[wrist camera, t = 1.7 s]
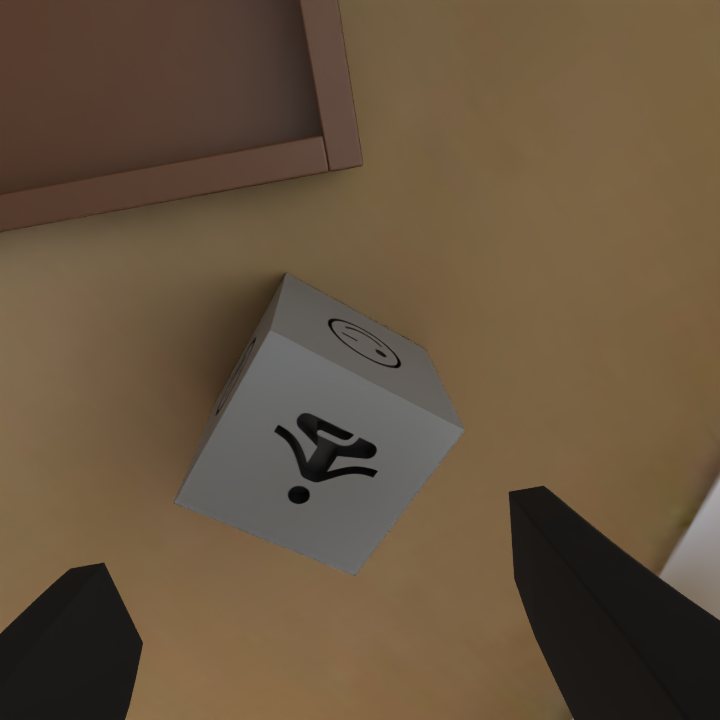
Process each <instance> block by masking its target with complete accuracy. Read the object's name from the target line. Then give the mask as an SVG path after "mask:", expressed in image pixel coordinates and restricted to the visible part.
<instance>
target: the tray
mask: <svg viewBox="0 0 720 720" xmlns="http://www.w3.org/2000/svg"><path fill="white" fill-rule="evenodd" d="M362 165H363V159H362V153H361V146H360V140H359V133H358V127H357V120H356V114H355V107H354V101H353V94H352V88H351V81H350V75H349V68H348V62H347V55H346V49H345V42H344V36H343V30H342V23H341V17H340V10H339V4H338V0H0V232H3V231H9V230H14V229H20V228H25V227H31V226H36V225H42V224H47V223H53V222H58V221H64V220H69V219H75V218H80V217H86V216H91V215H96V214H102V213H107V212H113V211H118V210H124V209H129V208H135V207H140V206H146V205H151V204H157V203H162V202H168V201H173V200H179V199H184V198H190V197H195V196H201V195H206V194H212V193H217V192H223V191H228V190H234V189H239V188H245V187H250V186H256V185H261V184H267V183H272V182H278V181H283V180H289V179H294V178H299V177H305V176H310V175H316V174H321V173H327V172H329V170H330V171H331V172H333V171H338V170H343V169H349V168H354V167H360V166H362Z"/></svg>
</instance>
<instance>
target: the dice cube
mask: <svg viewBox="0 0 720 720" xmlns="http://www.w3.org/2000/svg"><path fill="white" fill-rule="evenodd" d="M464 431H465V430H464V427H463V425H462V423H461V421H460V419H459V417H458V415H457V413H456V411H455V409H454V407H453V405H452V403H451V401H450V398H449V396H448V394H447V392H446V390H445V388H444V386H443V384H442V382H441V380H440V378H439V376H438V374H437V372H436V369H435V367H434V365H433V363H432V361H431V359H430V357H429V355H428V353H427V351H426V349H424V348H422V347H420V346H418V345H417V344H415V343H413V342H411V341H409V340H408V339H406V338H404V337H402V336H400V335H399V334H397V333H395V332H393V331H391V330H389V329H388V328H386V327H384V326H382V325H380V324H379V323H377V322H375V321H373V320H371V319H369V318H368V317H366V316H364V315H362V314H360V313H359V312H357V311H355V310H353V309H351V308H350V307H348V306H346V305H344V304H342V303H340V302H339V301H337V300H335V299H333V298H331V297H330V296H328V295H326V294H324V293H322V292H320V291H319V290H317V289H315V288H313V287H311V286H310V285H308V284H306V283H304V282H302V281H301V280H299V279H297V278H295V277H293V276H291V275H290V274H288V273H286V274H285V276H284V278H283V280H282V282H281V283H280V285H279V287H278V289H277V291H276V293H275V294H274V296H273V298H272V300H271V302H270V304H269V305H268V307H267V309H266V311H265V313H264V315H263V316H262V318H261V320H260V322H259V324H258V326H257V327H256V329H255V331H254V333H253V335H252V336H251V338H250V340H249V342H248V344H247V346H246V347H245V349H244V351H243V353H242V355H241V357H240V358H239V360H238V362H237V364H236V366H235V368H234V369H233V371H232V373H231V375H230V377H229V379H228V380H227V382H226V384H225V386H224V388H223V389H222V391H221V393H220V395H219V397H218V399H217V400H216V402H215V404H214V407H213V409H212V411H211V414H210V416H209V419H208V421H207V423H206V426H205V428H204V431H203V433H202V436H201V438H200V440H199V443H198V445H197V448H196V450H195V452H194V455H193V457H192V460H191V462H190V465H189V467H188V469H187V472H186V474H185V477H184V479H183V482H182V484H181V486H180V489H179V491H178V494H177V496H176V498H175V501H174V504H177V505H179V506H182V507H184V508H187V509H189V510H192V511H194V512H197V513H199V514H202V515H204V516H207V517H209V518H212V519H214V520H217V521H219V522H222V523H224V524H227V525H229V526H232V527H234V528H237V529H239V530H242V531H244V532H247V533H249V534H252V535H254V536H257V537H259V538H262V539H264V540H267V541H269V542H272V543H274V544H277V545H279V546H281V547H284V548H286V549H289V550H291V551H294V552H296V553H299V554H301V555H304V556H306V557H309V558H311V559H314V560H316V561H319V562H321V563H324V564H326V565H329V566H331V567H334V568H336V569H339V570H341V571H344V572H346V573H349V574H351V575H354V576H355V575H356V574H357V573H358V571H359V570H360V569H361V567H362V566H363V565H364V563H365V562H366V561H367V559H368V558H369V557H370V555H371V554H372V553H373V552H374V550H375V549H376V548H377V546H378V545H379V544H380V542H381V541H382V540H383V538H384V537H385V536H386V534H387V533H388V532H389V530H390V529H391V528H392V526H393V525H394V524H395V522H396V521H397V520H398V518H399V517H400V516H401V514H402V513H403V512H404V510H405V509H406V508H407V506H408V505H409V504H410V502H411V501H412V500H413V498H414V497H415V496H416V494H417V493H418V492H419V490H420V489H421V488H422V486H423V485H424V484H425V482H426V481H427V480H428V478H429V477H430V476H431V475H432V473H433V472H434V471H435V469H436V468H437V467H438V465H439V464H440V463H441V461H442V460H443V459H444V457H445V456H446V455H447V453H448V452H449V451H450V449H451V448H452V447H453V445H454V444H455V443H456V441H457V440H458V439H459V437H460V436H461V435H462V433H463V432H464Z"/></svg>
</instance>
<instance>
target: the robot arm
mask: <svg viewBox="0 0 720 720" xmlns="http://www.w3.org/2000/svg"><path fill="white" fill-rule="evenodd" d="M509 501H510V517H511V533H512V549H513V565H514V579H515V582H516V585H517V588H518V591H519V593H520V596H521V599H522V602H523V605H524V608H525V611H526V613H527V616H528V619H529V622H530V624H531V627H532V630H533V633H534V636H535V638H536V640H537V642H538V644H539V647H540V649H541V651H542V653H543V655H544V657H545V659H546V661H547V664H548V666H549V668H550V670H551V672H552V674H553V676H554V678H555V681H556V683H557V685H558V687H559V689H560V691H561V693H562V695H563V697H564V699H565V701H566V704H567V706H568V708H569V710H570V712H571V714H572V716H573V718H574V720H720V620H718V619H717V618H715V617H714V616H713V615H711V614H710V613H708V612H707V611H705V610H704V609H702V608H701V607H700V606H698V605H697V604H695V603H694V602H692V601H691V600H689V599H688V598H687V597H685V596H684V595H682V594H681V593H680V592H678V591H677V590H675V589H674V588H673V587H671V586H670V585H669V584H667V583H666V582H664V581H663V580H662V579H660V578H659V577H658V576H656V575H655V574H654V573H652V572H651V571H650V570H648V569H647V568H646V567H644V566H643V565H642V564H641V563H639V562H638V561H637V560H635V559H634V558H633V557H631V556H630V555H629V554H627V553H626V552H625V551H623V550H622V549H621V548H620V547H618V546H617V545H616V544H615V543H613V542H612V541H611V540H609V539H608V538H607V537H606V536H604V535H603V534H602V533H601V532H600V531H598V530H597V529H596V528H595V527H593V526H592V525H591V524H590V523H588V522H587V521H586V520H585V519H584V518H582V517H581V516H580V515H579V514H578V513H576V512H575V511H574V510H573V509H572V508H570V507H569V506H568V505H567V504H566V503H564V502H563V501H562V500H561V499H560V498H558V497H557V496H556V495H555V494H554V493H552V492H551V491H550V490H549V489H547V488H546V487H545V486H540V487H534V488H528V489H522V490H517V491H511V492H509ZM142 645H143V642H142V640H141V638H140V636H139V634H138V632H137V630H136V628H135V625H134V623H133V621H132V619H131V617H130V615H129V613H128V611H127V609H126V607H125V605H124V603H123V601H122V599H121V597H120V594H119V592H118V590H117V588H116V586H115V584H114V582H113V580H112V578H111V576H110V574H109V572H108V570H107V568H106V566H105V563H100V564H94V565H88V566H82V567H77V568H71V569H69V570H68V571H67V572H66V573H65V574H64V575H62V576H61V577H60V578H59V579H58V580H57V581H56V582H54V583H53V584H52V585H51V586H50V587H49V588H48V589H47V590H46V591H45V592H44V593H42V594H41V595H40V596H39V597H38V598H37V599H36V600H35V601H34V602H33V603H32V604H31V605H30V606H29V607H28V608H27V609H26V610H25V611H24V612H22V613H21V614H20V615H19V616H18V617H17V618H16V619H15V620H14V621H13V622H12V623H11V624H10V625H9V626H8V627H7V628H6V629H5V630H4V631H3V632H2V633H1V634H0V720H125V718H126V715H127V712H128V709H129V705H130V701H131V697H132V692H133V688H134V684H135V680H136V675H137V670H138V665H139V660H140V655H141V650H142Z"/></svg>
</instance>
